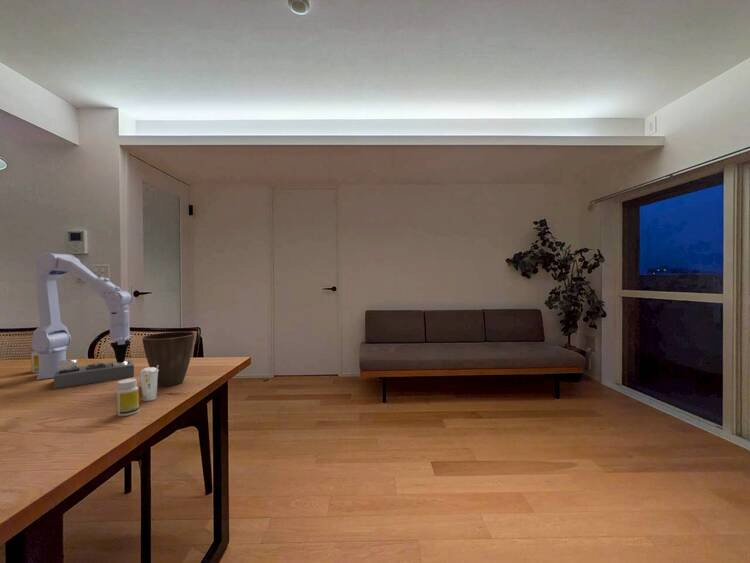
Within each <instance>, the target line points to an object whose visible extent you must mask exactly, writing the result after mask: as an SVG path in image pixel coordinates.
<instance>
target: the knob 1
mask: <svg viewBox="0 0 750 563" xmlns="http://www.w3.org/2000/svg"><path fill="white" fill-rule="evenodd" d="M78 365H79V363H78V359H77V358H70V359H69V358H68V359H67V358H66V360H62V361H60V373H68V372H76V371H78Z"/></svg>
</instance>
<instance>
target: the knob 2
mask: <svg viewBox="0 0 750 563" xmlns="http://www.w3.org/2000/svg"><path fill="white" fill-rule="evenodd" d="M127 360H128V359H125V361H124V362H117V360H116V361H112V362H113V366H119V365H126V364H128V361H127Z"/></svg>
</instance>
